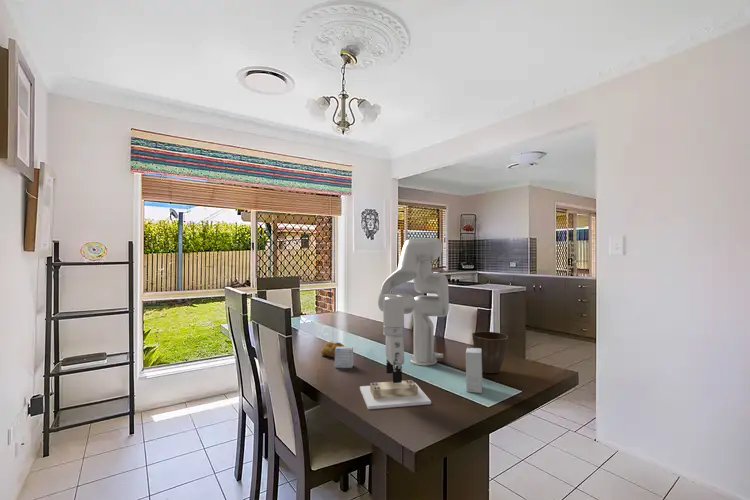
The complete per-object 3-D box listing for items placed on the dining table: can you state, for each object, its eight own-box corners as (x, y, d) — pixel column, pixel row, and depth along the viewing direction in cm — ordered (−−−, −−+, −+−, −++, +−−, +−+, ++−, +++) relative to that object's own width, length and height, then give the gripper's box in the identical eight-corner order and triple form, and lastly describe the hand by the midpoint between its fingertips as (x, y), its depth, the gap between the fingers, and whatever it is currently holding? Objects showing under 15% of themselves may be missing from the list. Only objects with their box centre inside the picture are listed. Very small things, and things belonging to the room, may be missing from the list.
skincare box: (482, 393, 132) (482, 353, 132) (465, 391, 133) (465, 352, 133) (482, 385, 140) (482, 347, 140) (466, 384, 141) (466, 346, 141)
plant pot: (490, 364, 166) (490, 330, 166) (515, 374, 153) (515, 336, 153) (465, 369, 160) (465, 333, 160) (489, 379, 146) (489, 340, 146)
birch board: (412, 388, 134) (411, 380, 134) (417, 395, 127) (417, 386, 127) (370, 391, 131) (370, 383, 131) (373, 398, 124) (373, 390, 124)
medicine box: (353, 365, 165) (353, 346, 165) (351, 368, 160) (351, 349, 160) (336, 364, 165) (336, 346, 166) (334, 368, 161) (334, 348, 161)
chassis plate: (415, 385, 140) (415, 373, 140) (431, 404, 123) (431, 390, 123) (359, 389, 136) (359, 377, 136) (368, 409, 118) (368, 395, 118)
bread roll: (317, 356, 179) (317, 340, 179) (328, 352, 187) (328, 336, 187) (339, 360, 173) (339, 343, 173) (349, 355, 181) (349, 339, 181)
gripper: (410, 335, 122) (410, 385, 122) (397, 325, 139) (397, 369, 139) (389, 336, 120) (389, 387, 120) (378, 326, 137) (378, 370, 137)
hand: (393, 377), depth 130 cm, fingers open, 9 cm apart
